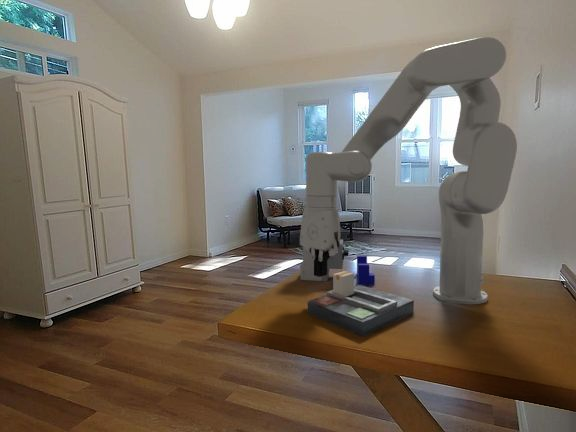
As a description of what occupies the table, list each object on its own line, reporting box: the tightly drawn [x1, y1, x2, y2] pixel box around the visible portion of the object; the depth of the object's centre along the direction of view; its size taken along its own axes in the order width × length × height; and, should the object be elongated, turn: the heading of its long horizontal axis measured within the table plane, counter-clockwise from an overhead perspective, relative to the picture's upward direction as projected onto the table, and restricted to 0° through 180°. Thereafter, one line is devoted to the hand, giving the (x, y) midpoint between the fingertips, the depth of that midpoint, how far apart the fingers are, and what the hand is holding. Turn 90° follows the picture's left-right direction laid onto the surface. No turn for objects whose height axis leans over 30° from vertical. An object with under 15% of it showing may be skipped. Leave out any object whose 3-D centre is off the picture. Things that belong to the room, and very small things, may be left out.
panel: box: [307, 284, 415, 337], centre depth 83 cm, size 18×16×4 cm
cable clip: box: [356, 254, 376, 286], centre depth 110 cm, size 12×4×6 cm, turn 171°
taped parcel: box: [332, 270, 355, 296], centre depth 86 cm, size 4×3×5 cm
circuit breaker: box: [299, 230, 350, 282], centre depth 112 cm, size 8×14×15 cm, turn 78°
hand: (320, 275), depth 92 cm, fingers closed
